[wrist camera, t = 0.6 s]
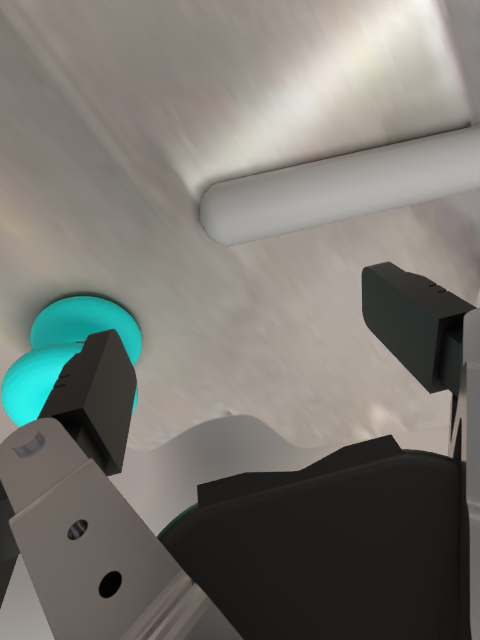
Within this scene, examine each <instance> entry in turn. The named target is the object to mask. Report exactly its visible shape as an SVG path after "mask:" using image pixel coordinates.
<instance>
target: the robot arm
mask: <svg viewBox="0 0 480 640" xmlns="http://www.w3.org/2000/svg"><path fill="white" fill-rule="evenodd" d="M362 312H363V317H364V321H365V323H366V325H367V327H368V328H369V329H370V331H371V332H372V333H373V334H374V335H375V336H376V337H377V338H378V339H379V340H380V341H381V342H382V343H383V344H384V345H385V346H386V347H387V348H388V350H389V351H390V352H391V353H392V354H393V355H394V356H395V357H396V358H397V359H398V360H399V361H400V362H401V363H402V364H403V365H404V366H405V368H406V369H407V370H408V371H409V372H410V373H411V374H412V375H413V376H414V377H415V378H416V379H417V380H418V381H419V382H420V383H421V384H422V386H423V387H424V388H425V389H426V390H427V391H428V392H429V393H430V394H431V393H435V392H439V391H443V390H447V389H449V390H450V391H451V392H452V397H451V404H450V424H449V444H448V456H444V455H440V454H437V453H433V452H427V451H421V450H409V449H401V448H400V447H399V445H398V444H397V442H396V441H395V439H394V438H393V436H392V435H387V436H383V437H379V438H375V439H372V440H368V441H364V442H360V443H357V444H352V445H349V446H345V447H343V448H341V449H339V450H337V451H335V452H334V453H332V454H330V455H328V456H326V457H325V458H323V459H321V460H319V461H317V462H315V463H313V464H312V465H310V466H308V467H306V468H305V469H302V470H300V471H294V472H251V473H250V472H249V473H242V474H238V475H235V476H230V477H227V478H223V479H219V480H216V481H211V482H208V483H204V484H200V485H197V492H198V503H196V504H194V505H192V506H191V507H189V508H188V509H186V510H185V511H183V512H182V513H181V514H179V515H178V516H177V517H176V518H175V519H173V520H172V521H171V522H170V523H169V524H168V525H167V526H166V527H165V528H164V529H163V530H162V531H161V532H160V533H159V535H158V536H157V537H156V536H155V535H154V534H153V532H152V531H151V530H150V529H149V528H148V526H147V525H146V524H145V523H144V521H143V520H142V519H141V518H140V516H139V515H138V514H137V513H136V512H135V510H134V509H133V508H132V507H131V506H130V504H129V503H128V502H127V501H126V499H125V498H124V497H123V496H122V494H121V493H120V492H119V491H118V490H117V489H116V487H115V486H114V485H113V484H112V482H111V481H110V480H109V479H108V477H107V476H111V475H114V474H118V473H121V471H122V465H123V460H124V454H125V449H126V443H127V438H128V432H129V426H130V421H131V415H132V410H133V404H134V398H135V393H136V387H137V379H136V374H135V370H134V367H133V365H132V363H131V361H130V358H129V356H128V354H127V352H126V349H125V347H124V345H123V343H122V341H121V338H120V336H119V334H118V332H117V331H116V330H115V329H109V330H105V331H101V332H97V333H93V334H89V335H88V337H87V339H86V341H85V343H84V345H83V348H82V350H81V352H80V353H76V354H75V355H74V356H73V357H72V358H71V359H70V360H69V361H68V362H67V363H66V364H65V365H64V366H63V368H62V370H61V372H60V374H59V376H58V379H57V380H56V382H55V384H54V386H53V389H52V390H51V392H50V394H49V396H48V398H47V400H46V402H45V404H44V406H43V408H42V410H41V412H40V414H39V416H38V418H37V420H34V421H32V422H29V423H27V424H25V425H23V426H22V427H20V428H18V429H17V430H16V431H14V432H13V433H12V434H11V435H9V436H8V437H7V438H6V439H5V440H4V441H3V442H2V443H1V444H0V608H1V605H2V602H3V599H4V596H5V593H6V590H7V587H8V584H9V581H10V578H11V575H12V572H13V569H14V566H15V563H16V560H17V557H18V554H20V553H21V555H22V558H23V561H24V563H25V566H26V568H27V570H28V573H29V575H30V578H31V581H32V583H33V586H34V588H35V591H36V593H37V596H38V598H39V601H40V604H41V606H42V608H43V611H44V614H45V616H46V619H47V621H48V624H49V626H50V629H51V631H52V633H53V636H54V639H55V640H480V308H476V307H474V306H473V305H471V304H469V303H468V302H466V301H464V300H463V299H461V298H459V297H458V296H456V295H454V294H453V293H451V292H449V291H446V289H444V288H443V287H441V286H439V285H436V283H434V282H433V281H431V280H429V279H428V278H426V277H424V276H421V275H417V274H413V273H410V272H405V271H403V270H402V269H400V268H399V267H397V266H396V265H394V264H392V263H391V262H384V263H380V264H376V265H372V266H368V267H365V268H364V269H363V271H362Z"/></svg>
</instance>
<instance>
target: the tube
mask: <svg viewBox="0 0 480 640" xmlns="http://www.w3.org/2000/svg"><path fill="white" fill-rule="evenodd" d="M473 190H480V122H477V123H475V124H474V125H473V126H472V127H468V128H464V129H459V130H455V131H450V132H446V133H441V134H437V135H432V136H428V137H423V138H419V139H414V140H410V141H405V142H401V143H396V144H392V145H387V146H383V147H378V148H374V149H369V150H365V151H360V152H356V153H351V154H347V155H342V156H338V157H333V158H329V159H324V160H320V161H315V162H311V163H306V164H302V165H297V166H293V167H288V168H284V169H279V170H275V171H270V172H266V173H261V174H257V175H252V176H248V177H243V178H239V179H234V180H230V181H225V182H221V183H216V184H213V185H212V186H211V187H210V188H209V189H208V190H207V191H206V193H205V194H204V195H203V197H202V199H201V201H200V222H201V224H202V226H203V228H204V230H205V231H206V233H207V235H208V237H209V238H211V239H212V240H213V241H214V242H216V243H218V244H221V245H223V246H226V247H231V246H235V245H239V244H244V243H248V242H252V241H257V240H261V239H265V238H270V237H274V236H278V235H283V234H287V233H291V232H296V231H300V230H304V229H309V228H313V227H317V226H322V225H326V224H330V223H335V222H339V221H343V220H348V219H352V218H356V217H361V216H365V215H369V214H374V213H378V212H382V211H387V210H391V209H395V208H400V207H404V206H408V205H413V204H417V203H421V202H426V201H430V200H434V199H439V198H443V197H447V196H452V195H456V194H460V193H465V192H469V191H473Z"/></svg>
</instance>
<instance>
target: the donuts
mask: <svg viewBox="0 0 480 640" xmlns="http://www.w3.org/2000/svg"><path fill="white" fill-rule="evenodd" d="M109 329H115V330H116V331H117V332H118V334H119V336H120V338H121V341H122V343H123V345H124V347H125V349H126V352H127V354H128V356H129V358H130V361H131V363H132V365H133V366H134V365H135V363H136V362H137V360H138V358H139V356H140V353H141V349H142V336H141V332H140V330H139V327H138V325H137V323H136V322H135V320H134V319H133V318H132V316H131V315H130V314H129V313H128V312H126V311H125V310H124V309H123V308H121V307H120V306H118V305H116V304H115V303H112V302H110V301H108V300H105V299H102V298H97V297H91V296H75V297H69V298H65V299H62V300H59V301H56V302H54V303H53V304H51V305H49V306H48V307H47V308H45V309H44V310H43V311H42V312H41V313H40V314H39V315H38V317H37V318H36V320H35V321H34V323H33V326H32V329H31V335H30V343H31V347H32V351H30V352H28V353H26V354H24V355H23V356H21V357H20V358H19V359H18V360H17V361H16V362H15V363H14V364H13V365H12V366H11V367H10V368H9V369H8V371H7V373H6V375H5V377H4V379H3V382H2V386H1V400H2V404H3V406H4V409H5V411H6V413H7V414H8V416H9V417H10V418H11V420H12V421H13V422H14V423H16V424H17V425H18V426H19V427H22V426H23V425H25V424H27V423H29V422H32V421H34V420H37V418H38V416H39V414H40V412H41V410H42V408H43V406H44V404H45V402H46V400H47V398H48V396H49V394H50V392H51V390H52V389H53V386H54V384H55V382H56V380H57V379H58V376H59V374H60V372H61V370H62V368H63V366H64V365H65V364H66V363H67V362H68V361H69V360H70V359H71V358H72V357H73V356H74V355H75V354H76V353H80V352H81V350H82V348H83V345H84V344H83V343H75V342H78V341H86V339H87V337H88V335H89V334H93V333H97V332H101V331H105V330H109ZM137 398H138V389H137V387H136V393H135V398H134V404H133V410H132V413H133V411H134V409H135V407H136V404H137Z"/></svg>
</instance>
